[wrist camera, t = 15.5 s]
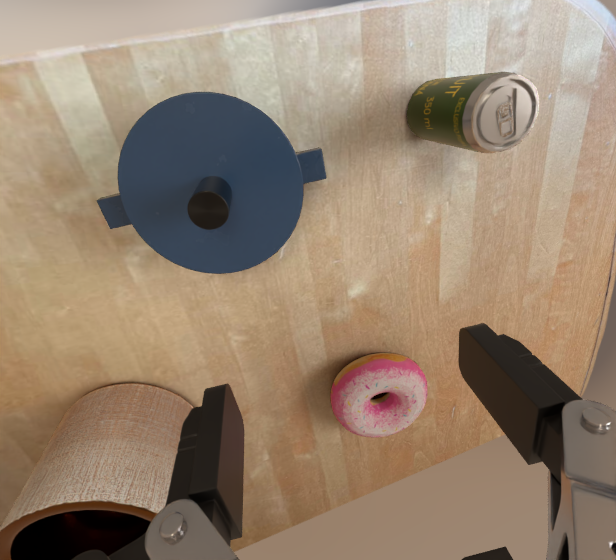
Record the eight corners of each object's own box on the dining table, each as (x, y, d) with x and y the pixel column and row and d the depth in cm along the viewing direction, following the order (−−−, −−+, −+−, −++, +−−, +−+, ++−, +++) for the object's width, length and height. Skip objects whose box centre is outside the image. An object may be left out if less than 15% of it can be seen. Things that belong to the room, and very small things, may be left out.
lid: (88, 115, 25) (43, 119, 20) (280, 73, 25) (288, 66, 20) (163, 284, 31) (145, 323, 26) (315, 247, 32) (329, 277, 27)
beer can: (459, 125, 37) (545, 136, 26) (411, 147, 37) (476, 167, 26) (449, 69, 34) (539, 56, 24) (397, 93, 35) (463, 91, 24)
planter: (40, 392, 44) (-57, 528, 30) (186, 366, 45) (158, 483, 31) (95, 481, 52) (39, 620, 38) (217, 457, 53) (206, 582, 40)
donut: (420, 403, 55) (436, 430, 50) (336, 427, 54) (344, 456, 50) (414, 334, 48) (431, 358, 44) (319, 360, 48) (326, 386, 44)
